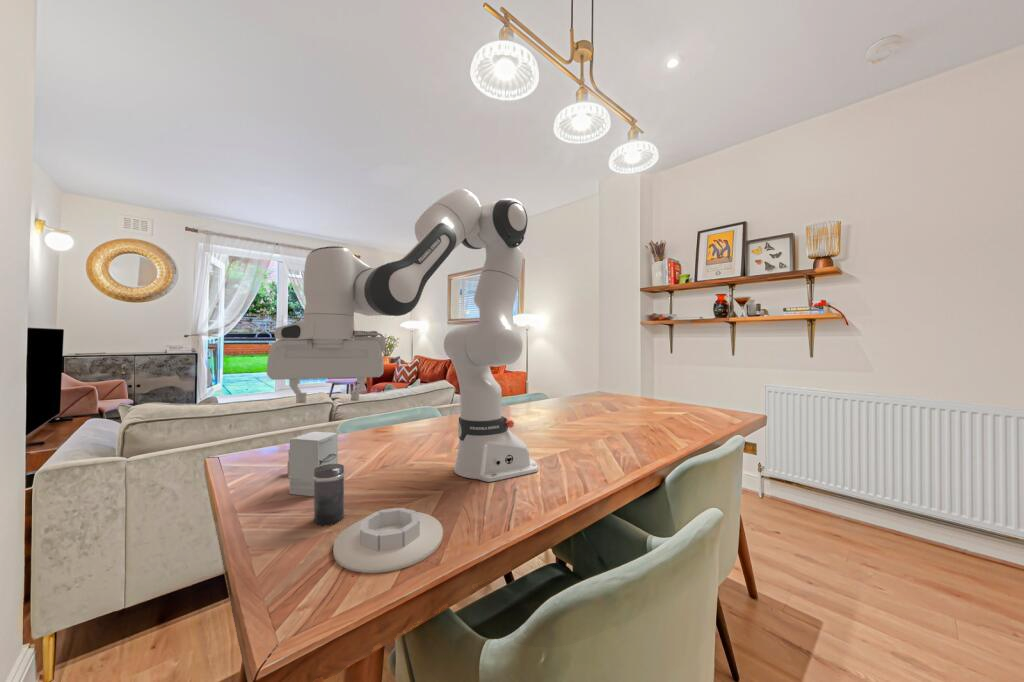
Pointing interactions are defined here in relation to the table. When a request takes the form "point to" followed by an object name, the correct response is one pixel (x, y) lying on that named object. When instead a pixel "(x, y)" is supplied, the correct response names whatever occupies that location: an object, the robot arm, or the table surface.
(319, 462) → the supplement box
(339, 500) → the lens
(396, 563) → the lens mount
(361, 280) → the robot arm
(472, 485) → the table surface
